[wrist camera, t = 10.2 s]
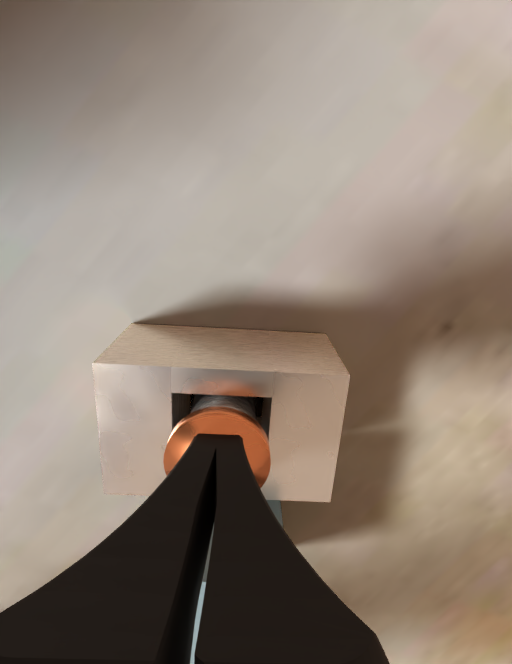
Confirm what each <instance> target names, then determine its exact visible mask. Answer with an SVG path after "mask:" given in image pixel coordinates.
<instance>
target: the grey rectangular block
mask: <svg viewBox="0 0 512 664" xmlns="http://www.w3.org/2000/svg"><path fill="white" fill-rule="evenodd" d="M92 366H93V377H94V389H95V400H96V411H97V422H98V433H99V445H100V456H101V467H102V478H103V490H104V494H119V495H146V496H150V495H151V494H152V493H153V492H154V491H155V489H156V488H157V487H158V486H159V485H160V484H161V483H162V482H163V480H164V479H165V478H166V477H167V476H166V473H165V469H164V463H163V460H164V452H165V449H166V446H167V443H168V440H169V437H170V435H171V432H172V430H173V429H174V427H175V426H176V425H177V423H178V422H179V421H180V420H181V419H182V418H184V417H185V416H187V415H188V414H190V394H208V395H229V396H251V397H263V405H262V417H256V421H257V422H258V423H259V424H260V426H261V427H262V428H263V430H264V431H265V433H266V435H267V438H268V441H269V447H270V458H271V467H270V472H269V475H268V478H267V480H266V482H265V483H264V485H263V486H262V488H261V491H262V493H263V495H264V497H265V499H266V500H284V501H311V502H330V501H331V495H332V488H333V482H334V476H335V470H336V463H337V457H338V451H339V444H340V438H341V432H342V425H343V419H344V413H345V407H346V400H347V394H348V388H349V381H350V374H349V372H348V371H347V369H346V367H345V366H344V364H343V362H342V360H341V359H340V357H339V355H338V354H337V352H336V350H335V349H334V347H333V345H332V344H331V342H330V340H329V338H328V337H327V335H326V334H324V333H305V332H286V331H267V330H248V329H229V328H210V327H191V326H172V325H153V324H134V323H131V324H130V325H129V326H128V327H127V328H126V329H125V330H124V331H123V332H122V333H121V334H120V335H119V336H118V337H117V338H116V339H115V340H114V341H113V342H112V344H111V345H110V346H109V347H108V348H107V349H106V350H105V351H104V352H103V353H102V354H101V355H100V356H99V357H98V358H97V359H96V360H95V361H94V362H93V363H92Z"/></svg>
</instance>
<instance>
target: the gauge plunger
mask: <svg viewBox="0 0 512 664" xmlns="http://www.w3.org/2000/svg"><path fill="white" fill-rule="evenodd" d="M198 433H203V434H227V435H240V436H241V437H242V438H243V444H244V448H245V452H246V455H247V458H248V461H249V464H250V466H251V469H252V471H253V474H254V476H255V478H256V480H257V483H258V485H259V487H260V489H261V488H262V486H263V485H264V483H265V482H266V480H267V478H268V475H269V472H270V467H271V458H270V447H269V441H268V438H267V435H266V433H265V431H264V430H263V428H262V427H261V426H260V424H259V423H258V422H257V421H256V402H255V397H251V396H229V395H208V394H195V397H194V400H193V404H192V407H191V411H190V414H188V415H187V416H185V417H184V418H182V419H181V420H180V421H179V422H178V423H177V425H176V426H175V427H174V429H173V430H172V432H171V435H170V437H169V440H168V443H167V446H166V449H165V452H164V460H163V463H164V469H165V473H166V476H167V475H168V474H169V473H170V471H171V470H172V469H173V468H174V466H175V465H176V464H177V462H178V461H179V460H180V458H181V457H182V455H183V454H184V453H185V451H186V450H187V448H188V447H189V445H190V443H191V442H192V440H193V438H194V436H196V435H197V434H198Z"/></svg>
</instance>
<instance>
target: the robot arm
mask: <svg viewBox="0 0 512 664" xmlns="http://www.w3.org/2000/svg"><path fill="white" fill-rule="evenodd" d="M213 524H214V531H213V538H212V545H211V552H210V560H209V566H208V573H207V580H206V587H205V593H204V600H203V606H202V612H201V618H200V624H199V630H198V636H197V642H196V648H195V654H194V664H389V661H388V659H387V657H386V655H385V652H384V650H383V648H382V646H381V644H380V642H379V640H378V638H377V636H376V634H375V633H374V632H373V631H372V630H371V629H370V628H369V627H368V626H367V625H366V624H365V623H364V622H363V621H362V620H360V619H359V618H358V617H357V616H356V615H355V614H354V613H353V612H352V611H351V610H350V609H349V608H348V607H347V606H346V605H345V604H344V603H343V602H342V601H341V600H340V599H339V598H338V597H337V595H336V594H335V593H334V592H333V591H332V590H331V589H330V588H329V587H328V586H327V585H326V583H325V582H324V581H323V580H322V579H321V578H320V577H319V575H318V574H317V573H316V572H315V570H314V569H313V568H312V567H311V565H310V564H309V563H308V562H307V561H306V559H305V558H304V557H303V556H302V554H301V553H300V552H299V551H298V549H297V548H296V547H295V545H294V544H293V542H292V541H291V539H290V538H289V537H288V535H287V534H286V532H285V531H284V529H283V528H282V526H281V525H280V523H279V522H278V520H277V518H276V517H275V515H274V513H273V512H272V510H271V508H270V506H269V504H268V503H267V501H266V499H265V497H264V495H263V493H262V491H261V489H260V487H259V485H258V483H257V480H256V478H255V476H254V474H253V471H252V469H251V466H250V464H249V461H248V458H247V455H246V452H245V448H244V444H243V438H242V437H241V436H240V435H227V434H203V433H198V434H197V435H196V436H194V438H193V440H192V442H191V443H190V445H189V447H188V448H187V450H186V451H185V453H184V454H183V455H182V457H181V458H180V460H179V461H178V462H177V464H176V465H175V466H174V468H173V469H172V470H171V471H170V473H169V474H168V475H167V477H166V478H165V479H164V480H163V482H162V483H161V484H160V485H159V486H158V487H157V488H156V489H155V491H154V492H153V493H152V494H151V495H150V496H149V497H148V499H147V500H146V501H145V502H144V503H143V504H142V505H141V506H140V507H139V508H138V509H137V510H136V511H135V512H134V513H133V514H132V515H131V516H130V517H129V518H128V519H127V520H126V521H125V522H124V523H123V524H122V525H121V526H119V527H118V528H117V529H116V530H115V531H114V532H113V533H111V534H110V535H109V536H108V537H107V538H106V539H105V540H103V541H102V542H101V543H100V544H99V545H98V546H96V547H95V548H94V549H93V550H91V551H90V552H89V553H88V554H86V555H85V556H84V557H83V558H81V559H80V560H79V561H77V562H76V563H74V564H73V565H72V566H70V567H69V568H68V569H66V570H65V571H64V572H62V573H61V574H59V575H58V576H57V577H55V578H54V579H53V580H51V581H50V582H48V583H47V584H45V585H44V586H42V587H41V588H39V589H38V590H36V591H35V592H33V593H32V594H30V595H28V596H27V597H25V598H24V599H22V600H20V601H19V602H17V603H15V604H14V605H12V606H11V607H9V608H7V609H6V610H4V611H3V612H1V613H0V664H190V660H191V651H192V642H193V634H194V625H195V618H196V612H197V606H198V600H199V595H200V590H201V585H202V580H203V575H204V570H205V565H206V560H207V555H208V550H209V545H210V540H211V535H212V529H213Z"/></svg>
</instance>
